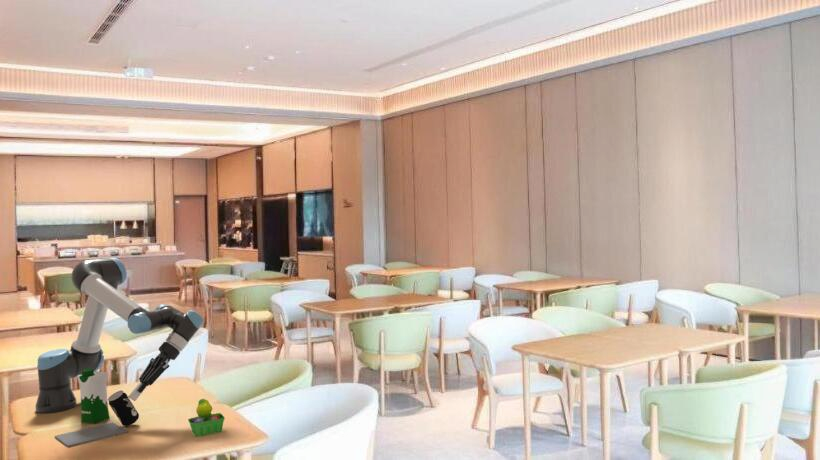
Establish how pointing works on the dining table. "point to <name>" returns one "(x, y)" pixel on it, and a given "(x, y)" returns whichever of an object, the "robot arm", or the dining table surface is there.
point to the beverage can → (123, 408)
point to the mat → (90, 434)
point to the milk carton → (93, 396)
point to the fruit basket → (206, 420)
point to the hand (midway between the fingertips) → (131, 398)
